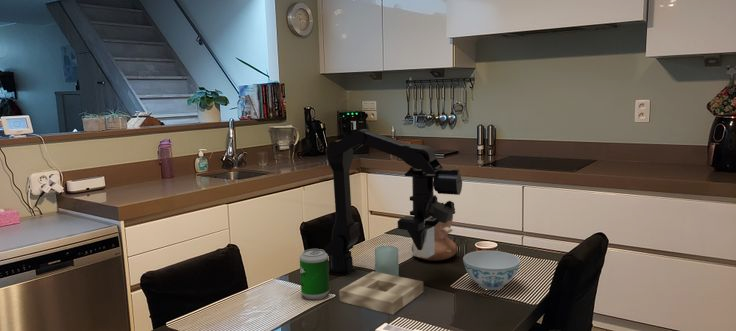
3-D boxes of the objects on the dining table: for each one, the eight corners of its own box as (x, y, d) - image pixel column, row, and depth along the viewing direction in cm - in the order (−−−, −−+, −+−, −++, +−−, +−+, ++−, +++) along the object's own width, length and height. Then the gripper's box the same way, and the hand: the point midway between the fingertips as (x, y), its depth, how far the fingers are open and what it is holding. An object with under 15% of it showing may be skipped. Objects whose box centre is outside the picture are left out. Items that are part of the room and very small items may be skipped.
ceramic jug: (468, 260, 164) (468, 216, 162) (431, 268, 157) (430, 222, 156) (435, 246, 180) (434, 206, 178) (399, 253, 173) (398, 211, 171)
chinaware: (473, 273, 153) (473, 247, 152) (525, 281, 145) (525, 254, 144) (455, 291, 140) (455, 263, 139) (511, 301, 133) (511, 272, 131)
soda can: (333, 291, 142) (332, 248, 140) (322, 302, 135) (320, 257, 133) (308, 288, 144) (306, 246, 143) (296, 299, 137) (294, 255, 136)
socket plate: (339, 301, 135) (339, 290, 135) (373, 281, 148) (372, 271, 148) (392, 314, 127) (392, 302, 126) (423, 292, 140) (423, 281, 139)
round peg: (371, 277, 152) (370, 250, 151) (383, 270, 158) (382, 244, 156) (391, 281, 148) (390, 254, 147) (402, 273, 154) (402, 247, 153)
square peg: (413, 255, 144) (412, 227, 143) (420, 251, 148) (420, 224, 147) (427, 258, 142) (427, 229, 141) (434, 253, 146) (434, 226, 144)
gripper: (434, 202, 130) (435, 262, 133) (464, 189, 146) (464, 243, 148) (395, 198, 136) (397, 255, 139) (428, 185, 152) (428, 237, 154)
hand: (423, 247), depth 145 cm, fingers closed on square peg, 4 cm apart
